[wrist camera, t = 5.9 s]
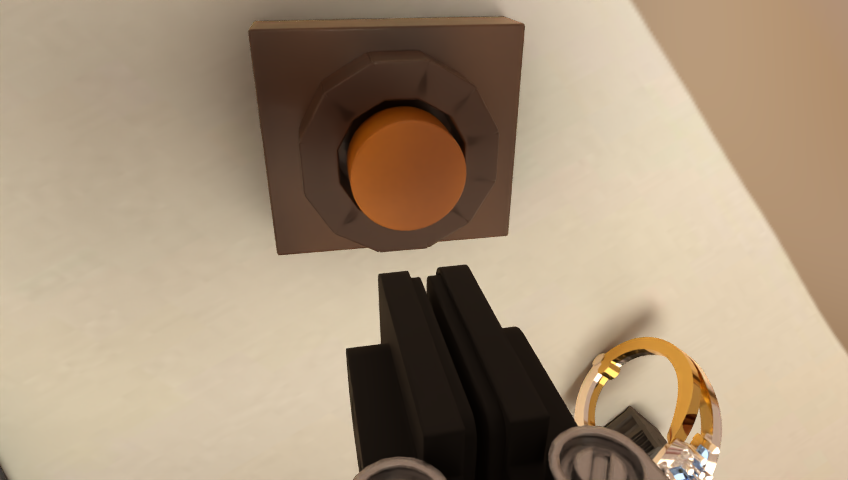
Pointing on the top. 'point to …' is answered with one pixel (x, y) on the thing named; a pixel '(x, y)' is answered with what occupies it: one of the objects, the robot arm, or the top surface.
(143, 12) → the top surface
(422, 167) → the power button
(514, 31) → the switch block
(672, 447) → the ring
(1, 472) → the dimmer panel
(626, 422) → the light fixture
